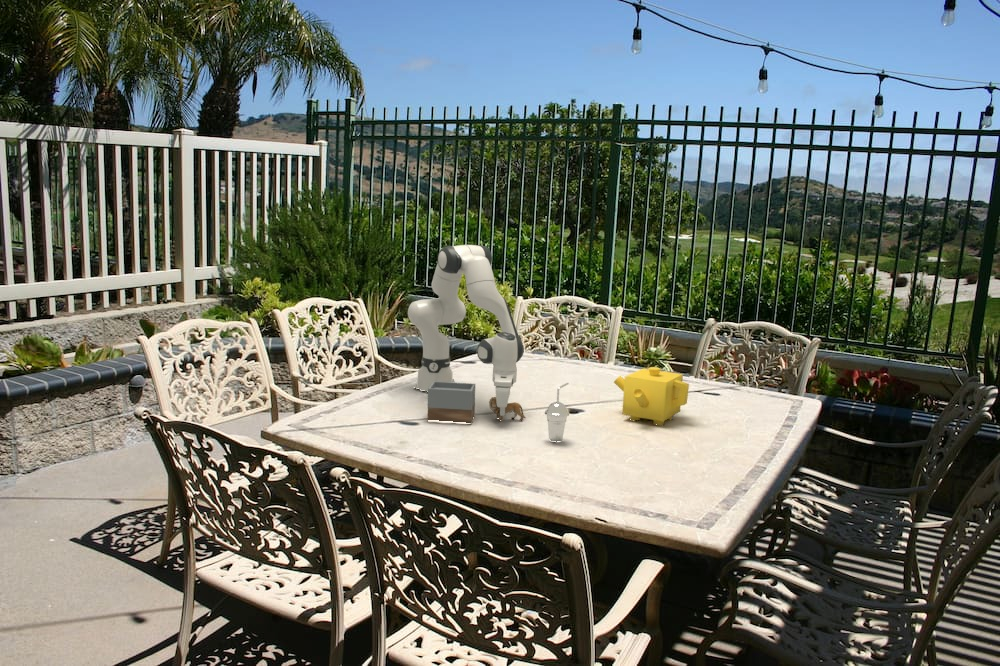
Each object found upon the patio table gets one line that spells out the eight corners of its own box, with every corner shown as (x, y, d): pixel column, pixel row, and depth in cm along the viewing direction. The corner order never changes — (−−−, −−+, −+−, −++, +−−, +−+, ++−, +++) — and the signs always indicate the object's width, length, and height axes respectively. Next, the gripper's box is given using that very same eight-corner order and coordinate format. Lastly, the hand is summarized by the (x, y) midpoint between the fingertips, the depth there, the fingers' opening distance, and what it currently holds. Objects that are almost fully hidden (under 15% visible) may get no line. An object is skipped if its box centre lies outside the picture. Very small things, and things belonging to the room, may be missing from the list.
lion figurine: (490, 422, 297) (491, 398, 296) (486, 419, 302) (487, 395, 301) (528, 421, 302) (529, 397, 301) (522, 417, 307) (523, 394, 306)
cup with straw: (539, 438, 281) (542, 382, 278) (562, 436, 284) (565, 381, 281) (549, 445, 273) (552, 388, 270) (573, 443, 276) (576, 386, 273)
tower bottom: (432, 414, 307) (432, 399, 306) (474, 417, 306) (474, 401, 305) (427, 423, 295) (427, 407, 294) (471, 425, 294) (471, 410, 293)
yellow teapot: (629, 403, 335) (632, 355, 331) (698, 415, 320) (702, 365, 317) (594, 421, 305) (597, 369, 302) (668, 435, 290) (673, 380, 287)
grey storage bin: (432, 399, 306) (433, 381, 305) (474, 401, 305) (475, 383, 304) (427, 407, 294) (427, 388, 293) (471, 410, 293) (471, 391, 292)
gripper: (498, 370, 309) (496, 405, 312) (493, 382, 289) (492, 419, 292) (514, 371, 309) (513, 406, 311) (511, 383, 289) (509, 421, 291)
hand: (503, 413), depth 301 cm, fingers closed on lion figurine, 4 cm apart
